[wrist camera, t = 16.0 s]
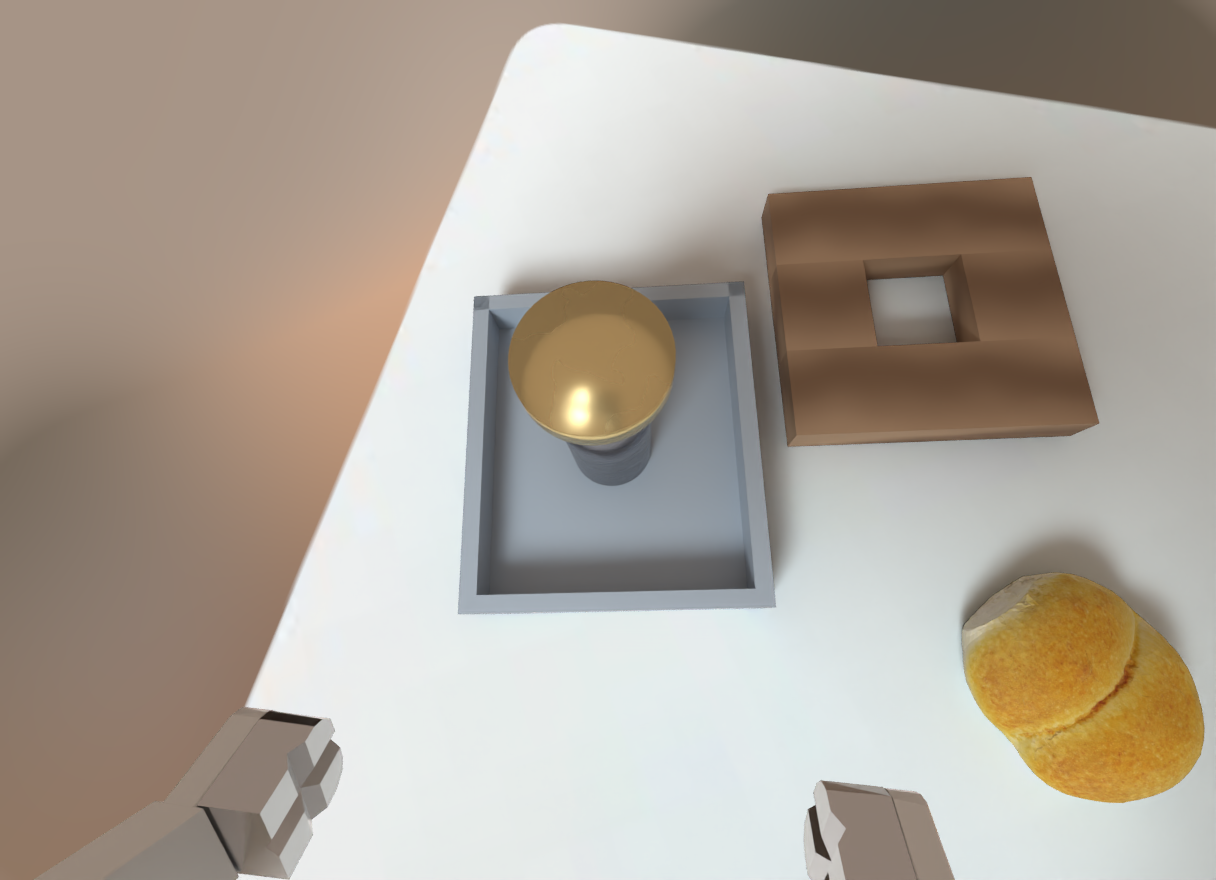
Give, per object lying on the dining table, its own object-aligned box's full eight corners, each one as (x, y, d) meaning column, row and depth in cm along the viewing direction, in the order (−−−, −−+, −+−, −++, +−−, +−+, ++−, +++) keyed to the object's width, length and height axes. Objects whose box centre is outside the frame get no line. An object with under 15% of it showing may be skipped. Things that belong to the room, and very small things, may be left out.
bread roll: (1076, 831, 25) (1153, 871, 21) (920, 652, 27) (964, 658, 24) (1209, 707, 26) (1305, 723, 22) (1046, 544, 28) (1108, 533, 24)
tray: (763, 608, 28) (776, 607, 25) (477, 614, 29) (457, 614, 26) (735, 310, 33) (743, 281, 30) (489, 323, 34) (474, 296, 31)
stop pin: (669, 499, 29) (680, 431, 18) (557, 503, 29) (505, 438, 19) (664, 394, 31) (671, 276, 20) (558, 399, 31) (510, 285, 20)
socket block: (1070, 435, 29) (1099, 423, 28) (787, 446, 30) (796, 435, 28) (1009, 202, 34) (1031, 177, 32) (761, 217, 34) (768, 194, 32)
